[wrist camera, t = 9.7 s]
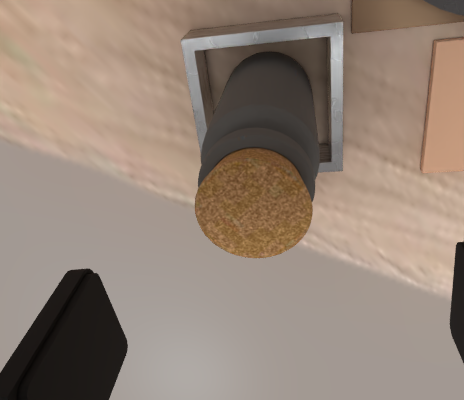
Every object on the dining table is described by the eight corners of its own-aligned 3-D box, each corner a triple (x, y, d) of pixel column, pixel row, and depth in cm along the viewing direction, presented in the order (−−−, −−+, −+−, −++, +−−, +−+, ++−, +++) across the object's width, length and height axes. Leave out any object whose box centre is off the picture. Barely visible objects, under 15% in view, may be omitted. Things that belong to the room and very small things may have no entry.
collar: (338, 13, 27) (343, 21, 24) (338, 151, 32) (342, 170, 29) (190, 30, 28) (180, 40, 26) (211, 160, 33) (205, 178, 31)
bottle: (325, 111, 30) (351, 240, 17) (251, 146, 32) (226, 286, 19) (287, 33, 28) (285, 118, 15) (210, 77, 30) (151, 184, 17)
